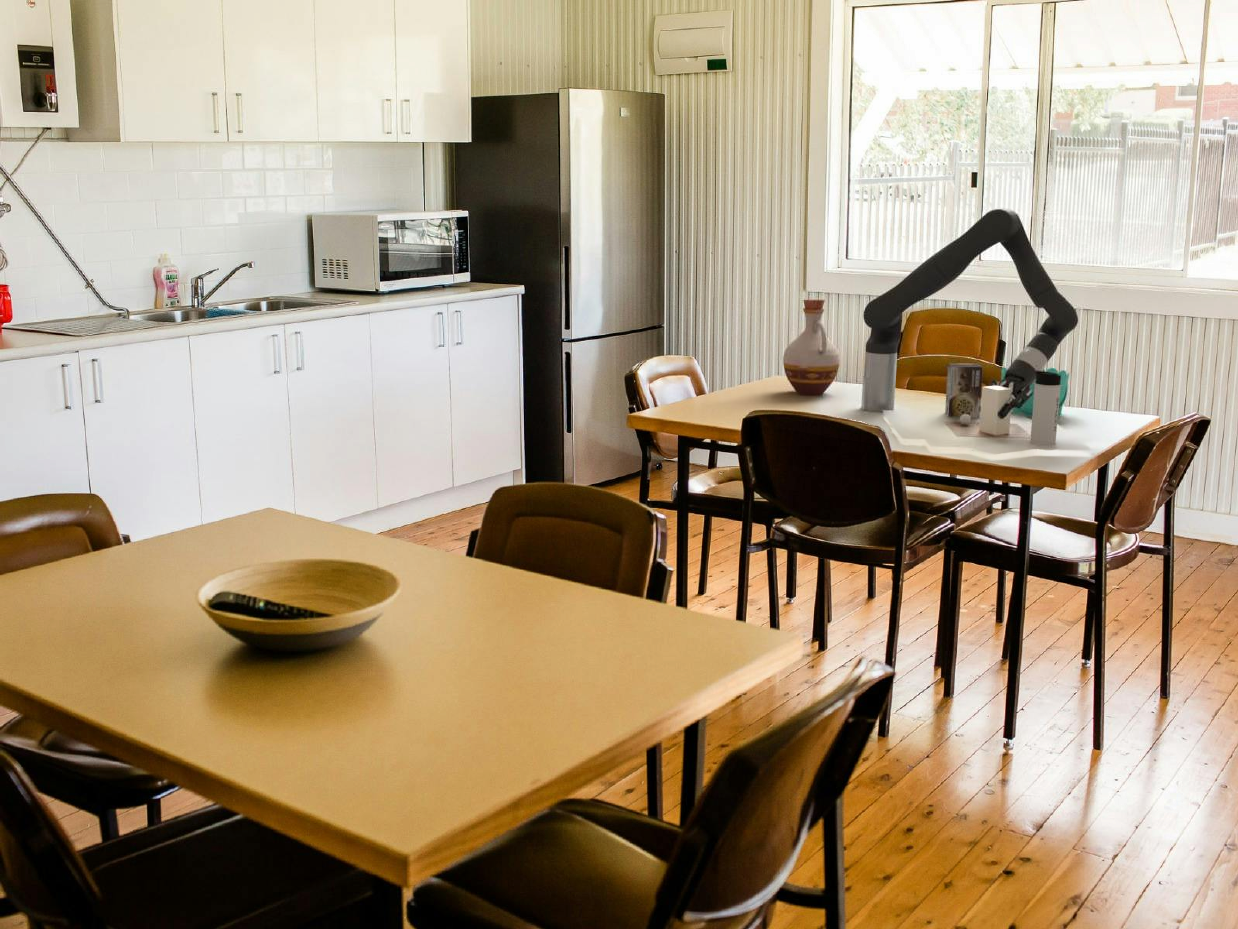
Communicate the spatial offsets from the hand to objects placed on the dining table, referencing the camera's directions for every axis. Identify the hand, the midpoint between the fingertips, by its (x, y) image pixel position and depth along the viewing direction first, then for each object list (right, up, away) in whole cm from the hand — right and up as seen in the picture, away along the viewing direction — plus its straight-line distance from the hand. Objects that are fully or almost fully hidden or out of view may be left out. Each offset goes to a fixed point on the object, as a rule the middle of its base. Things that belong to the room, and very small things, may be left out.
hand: (990, 414), depth 346 cm
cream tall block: (+1, -5, +2) cm, 5 cm away
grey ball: (-4, -2, +11) cm, 12 cm away
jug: (-38, +9, +66) cm, 77 cm away
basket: (+23, +2, +38) cm, 44 cm away
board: (+1, -5, +5) cm, 8 cm away
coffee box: (-1, -1, +26) cm, 26 cm away
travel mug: (+11, -9, -9) cm, 17 cm away
